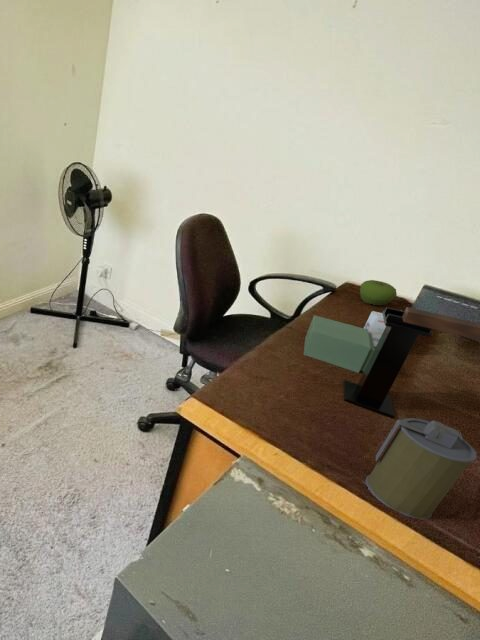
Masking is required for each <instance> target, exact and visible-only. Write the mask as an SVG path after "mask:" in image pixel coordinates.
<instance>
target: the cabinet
mask: <svg viewBox="0 0 480 640" xmlns="http://www.w3.org/2000/svg"><path fill="white" fill-rule="evenodd" d="M303 348H304V349H303V356H307V357H308V358H309V357H310V358H312V359H315V360H319V361H321V362H324V363H328V364H331V365H333V366H336V367H340V368H343V369H345V370H347V371H348V370H349V371H351V372H354V373H358V374H360V372H361V371H360V369H361V367H362V365H363V363H364V361H365V359H366V357H367V355H368V353H369V351H370V348H371V346H370V340H369V333H368V330H367V329H364V327H359V326H355V325H353V324H348V323H344V322H342V321H341V322H340V321H337V320H334V319H329V318H326V317H322V316H318V315H315V314H314V315H313V317H312V320H311V322H310V324H309V327H308V329H307V332H306V334H305V337H304V346H303Z"/></svg>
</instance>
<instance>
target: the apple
mask: <svg viewBox="0 0 480 640" xmlns="http://www.w3.org/2000/svg"><path fill="white" fill-rule="evenodd" d="M359 288H360V289H359V295H360V299H361V300H362V301H363V302H364V303H365V302H366V303H365V304H367V303H369V304H368V305H370V304H373V305H372V306H375V305H378V306H384V305H386V304H389V303H390V302H391V301H393V300H394V299H395V298H396V296H398V295H397V289H396V288H395V287H394V286H393V285H391V284H390V283H387V282H385V281H380V280H374V279H369V280H365V281H363V282H362V283H361V284H360V287H359Z"/></svg>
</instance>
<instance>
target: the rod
mask: <svg viewBox="0 0 480 640" xmlns="http://www.w3.org/2000/svg"><path fill="white" fill-rule="evenodd" d="M404 311H405V312H404V314H403V316H402V319H403V322H406V323H410V324H414V325H418V326H422V327H426V328H431V330H435V331H439V332H443V333H447V334H450V335H455V336H460V337H463V338H468V339H472V340H475V341H480V322H475V321H470V320H466V319H462V318H458V317H453V316H449V315H444V314H439V313H435V312H432V311H426V310H424V309H423V310H422V309H419V308H413V307H410V306H406V308H405V309H404Z"/></svg>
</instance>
